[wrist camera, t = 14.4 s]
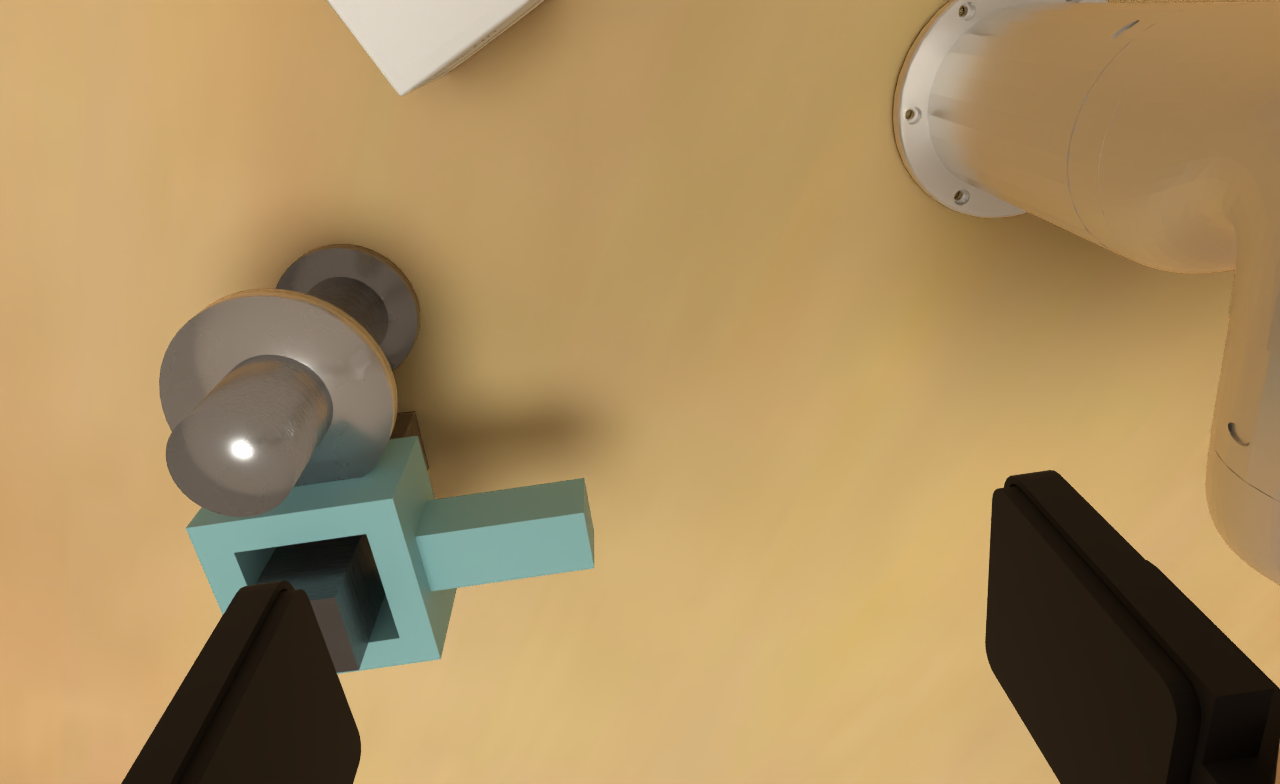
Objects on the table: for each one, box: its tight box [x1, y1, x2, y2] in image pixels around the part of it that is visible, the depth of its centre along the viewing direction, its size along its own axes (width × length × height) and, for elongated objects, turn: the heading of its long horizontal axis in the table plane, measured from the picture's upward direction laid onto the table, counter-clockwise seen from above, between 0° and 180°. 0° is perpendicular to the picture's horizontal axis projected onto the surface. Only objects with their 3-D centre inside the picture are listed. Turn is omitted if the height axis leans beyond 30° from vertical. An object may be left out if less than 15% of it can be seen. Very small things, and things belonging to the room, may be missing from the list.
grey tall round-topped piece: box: [159, 244, 420, 517], centre depth 41 cm, size 10×10×18 cm
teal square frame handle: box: [186, 436, 594, 674], centre depth 42 cm, size 17×9×6 cm, turn 98°
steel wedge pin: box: [255, 411, 429, 673], centre depth 45 cm, size 4×4×18 cm
